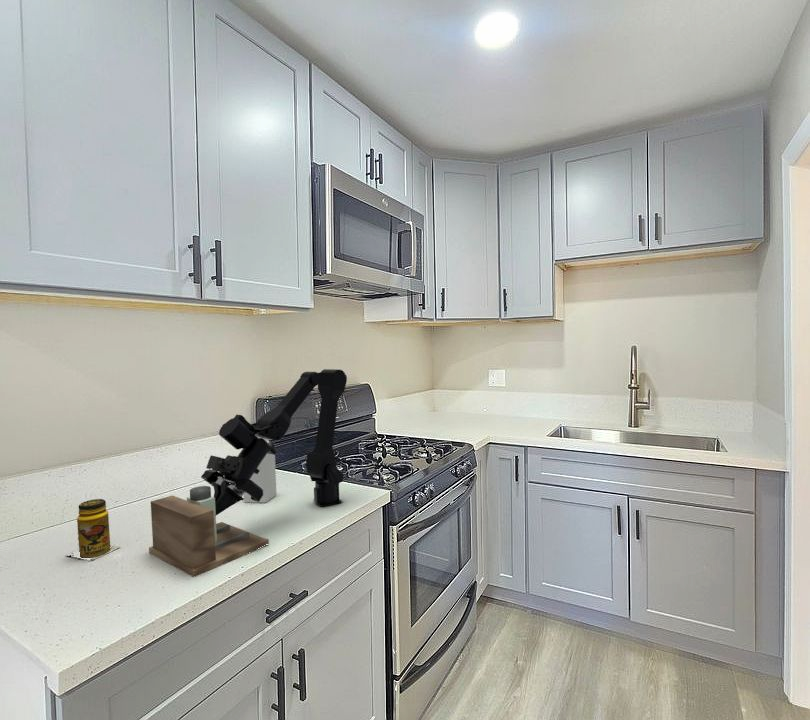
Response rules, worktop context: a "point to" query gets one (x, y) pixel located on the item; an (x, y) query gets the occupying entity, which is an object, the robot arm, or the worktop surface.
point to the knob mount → (196, 536)
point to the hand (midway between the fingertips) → (209, 516)
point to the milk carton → (265, 479)
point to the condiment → (93, 529)
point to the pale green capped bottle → (204, 501)
